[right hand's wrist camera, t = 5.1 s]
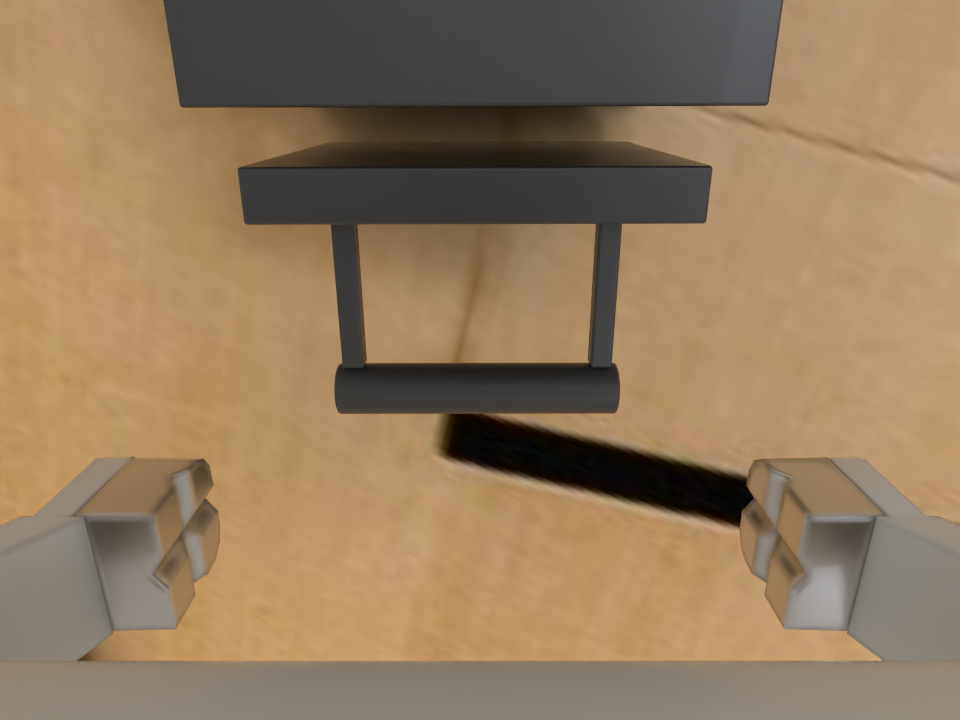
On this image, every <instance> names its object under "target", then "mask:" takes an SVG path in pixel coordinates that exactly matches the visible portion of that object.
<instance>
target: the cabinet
mask: <svg viewBox="0 0 960 720" xmlns="http://www.w3.org/2000/svg"><path fill="white" fill-rule="evenodd" d="M164 5H165V12H166V18H167V25H168V31H169V38H170V44H171V51H172V57H173V63H174V70H175V76H176V83H177V89H178V96H179V102H180V106H181V107H183V108H218V107H504V106H765V105H767V104H768V102H769V96H770V89H771V82H772V75H773V68H774V61H775V54H776V47H777V40H778V33H779V26H780V19H781V12H782V5H783V0H164Z"/></svg>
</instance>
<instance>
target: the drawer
mask: <svg viewBox="0 0 960 720" xmlns="http://www.w3.org/2000/svg"><path fill="white" fill-rule="evenodd" d="M711 176H712V167H711V166H709V165H706V164H702V163H699V162H695V161H692V160H688V159H685V158H681V157H678V156H674V155H671V154H667V153H664V152H660V151H657V150H653V149H650V148H646V147H643V146H639V145H636V144H632V143H629V142H400V143H326V144H322V145H319V146H315V147H312V148H308V149H304V150H301V151H297V152H293V153H290V154H286V155H283V156H279V157H275V158H272V159H268V160H264V161H261V162H257V163H254V164H250V165H246V166H243V167H240V168H238V177H239V184H240V192H241V200H242V207H243V215H244V222H245V224H247V225H295V224H331V232H332V244H333V256H334V268H335V280H336V292H337V304H338V316H339V328H340V339H341V351H342V364H339V366H338V368H337V371H336V376H335V403H336V407H337V410H338V412H339V413H341V414H458V413H615V412H616V411H617V409H618V405H619V398H620V381H619V373H618V369H617V366H616V364H614V363H612V352H613V339H614V325H615V311H616V298H617V284H618V270H619V257H620V243H621V230H622V224H664V223H705V222H706V218H707V210H708V201H709V193H710V184H711ZM357 224H596V232H595V249H594V266H593V283H592V300H591V317H590V333H589V350H588V361H589V363H366V360H367V358H366V344H365V330H364V315H363V301H362V286H361V272H360V258H359V243H358V229H357Z"/></svg>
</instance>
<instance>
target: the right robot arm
mask: <svg viewBox="0 0 960 720" xmlns="http://www.w3.org/2000/svg"><path fill="white" fill-rule="evenodd" d="M212 487H213V480H212V476H211V471H210V466H209V465H208V463H207V462H206V461H205V460H204V459H191V458H135V457H107V458H97V459H95V460H94V461H93V462H92V463H91V464H90V465H89V466H88V467H87V468H86V469H84V470H83V471H82V472H81V473H80V474H79V475H78V476H77V477H76V478H75V479H74V480H72V481H71V482H70V483H69V484H68V485H67V486H66V487H65V488H64V489H63V490H62V491H60V492H59V493H58V494H57V495H56V496H55V497H54V498H53V499H52V500H51V501H50V502H48V503H47V504H46V505H45V506H44V507H43V508H42V509H41V510H40V511H39V512H38V513H36V514H35V515H34V516H27V517H20V518H17V519H15V520H12V521H10V522H7V523H5V524H2V525H0V720H960V525H958V524H955V523H953V522H950V521H948V520H945V519H943V518H940V517H933V516H926V515H925V514H924V513H923V512H921V511H920V510H919V509H918V508H917V507H916V506H915V505H914V504H913V503H912V502H911V501H909V500H908V499H907V498H906V497H905V496H904V495H903V494H902V493H901V492H900V491H899V490H897V489H896V488H895V487H894V486H893V485H892V484H891V483H890V482H889V481H888V480H887V479H886V478H884V477H883V476H882V475H881V474H880V473H879V472H878V471H877V470H876V469H875V468H874V467H872V466H871V465H870V464H869V463H868V462H867V461H866V460H865V459H862V458H858V457H836V458H828V457H826V458H785V459H759V460H754V461H753V463H752V465H751V468H750V470H749V474H748V480H747V487H748V488H749V490H750V491H751V493H752V494H753V496H754V499H753V500H752V501H751V502H750V503H749V504H748V505H747V506H746V508H745V509H744V510H743V511H742V517H741V524H740V539H741V549H742V552H743V555H744V558H745V561H746V563H747V565H748V567H749V569H750V571H751V573H752V574H753V575H755V576H757V577H758V578H760V579H761V580H763V581H765V582H766V583H767V584H766V589H765V597H766V599H767V600H768V602H769V604H770V605H771V607H772V609H773V610H774V612H775V614H776V616H777V617H778V619H779V621H780V622H781V624H782V626H783V628H784V629H801V630H838V631H848V632H847V634H848V635H850V636H851V637H852V638H854V639H855V640H856V641H858V642H859V643H860V644H862V645H863V646H864V647H866V648H867V649H868V650H870V651H871V652H872V653H874V654H875V655H876V656H878V657H879V658H880V659H882V660H883V661H77V660H79V659H80V658H81V657H83V656H84V655H85V654H86V653H88V652H89V651H90V650H92V649H93V648H94V647H96V646H97V645H98V644H100V643H101V642H102V641H104V640H105V639H106V638H108V637H109V636H110V635H112V634H113V632H112V631H122V630H157V629H176V628H177V626H178V624H179V622H180V621H181V619H182V617H183V616H184V614H185V612H186V611H187V609H188V607H189V605H190V604H191V602H192V600H193V599H194V597H195V589H194V584H193V583H194V582H195V581H197V580H199V579H200V578H202V577H203V576H205V575H207V574H208V573H209V571H210V569H211V567H212V565H213V563H214V561H215V559H216V555H217V551H218V546H219V542H220V522H219V516H218V511H217V510H216V509H215V508H214V507H213V505H212V504H211V503H210V502H209V501H208V500H207V499H206V496H207V494H208V493H209V491H210V490H211V488H212Z"/></svg>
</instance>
